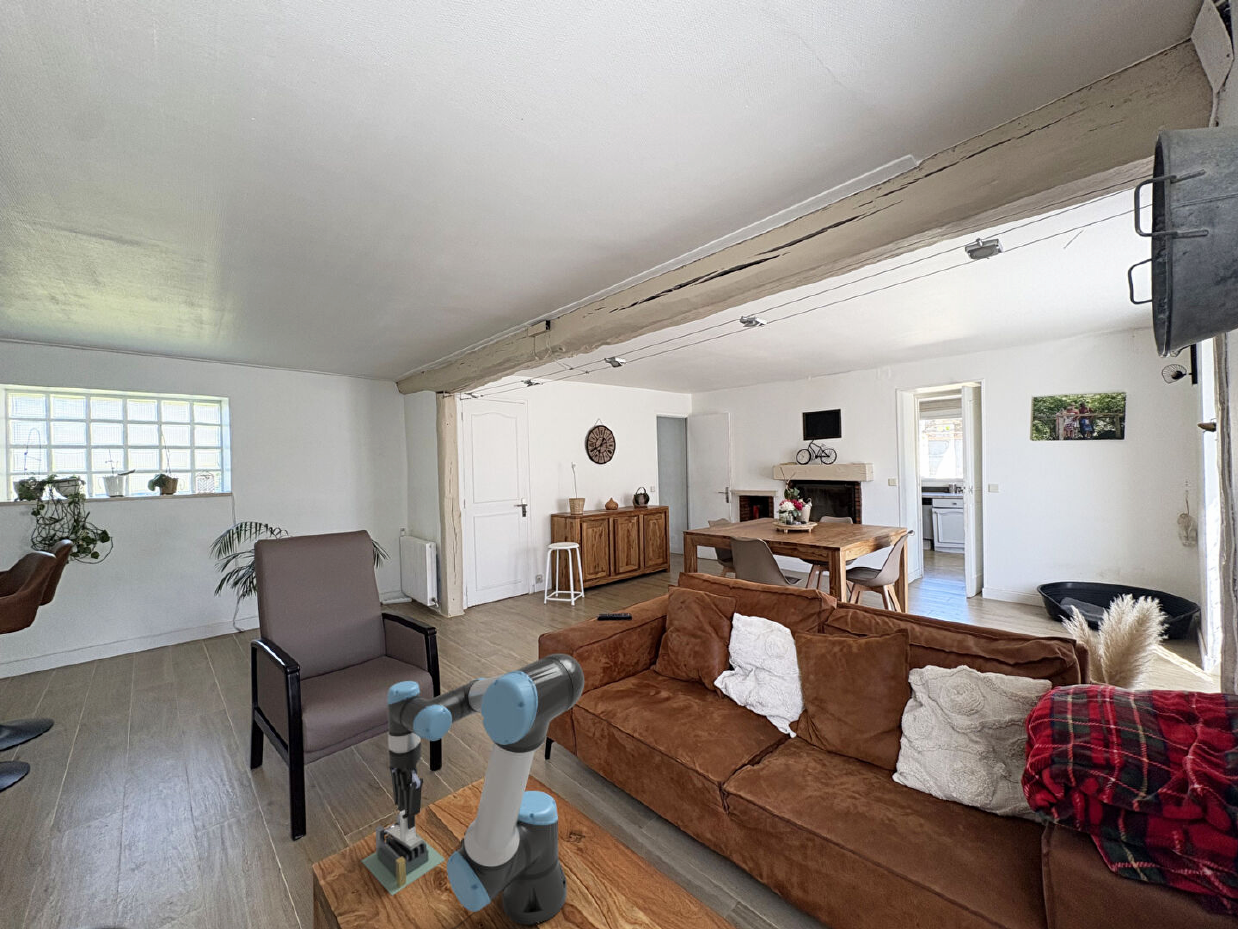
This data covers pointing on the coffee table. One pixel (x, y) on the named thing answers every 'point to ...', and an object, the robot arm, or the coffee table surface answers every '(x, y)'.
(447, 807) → the coffee table surface
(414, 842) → the grey flat bar
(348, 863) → the coffee table surface
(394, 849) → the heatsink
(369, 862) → the board
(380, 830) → the pivot bracket
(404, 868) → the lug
